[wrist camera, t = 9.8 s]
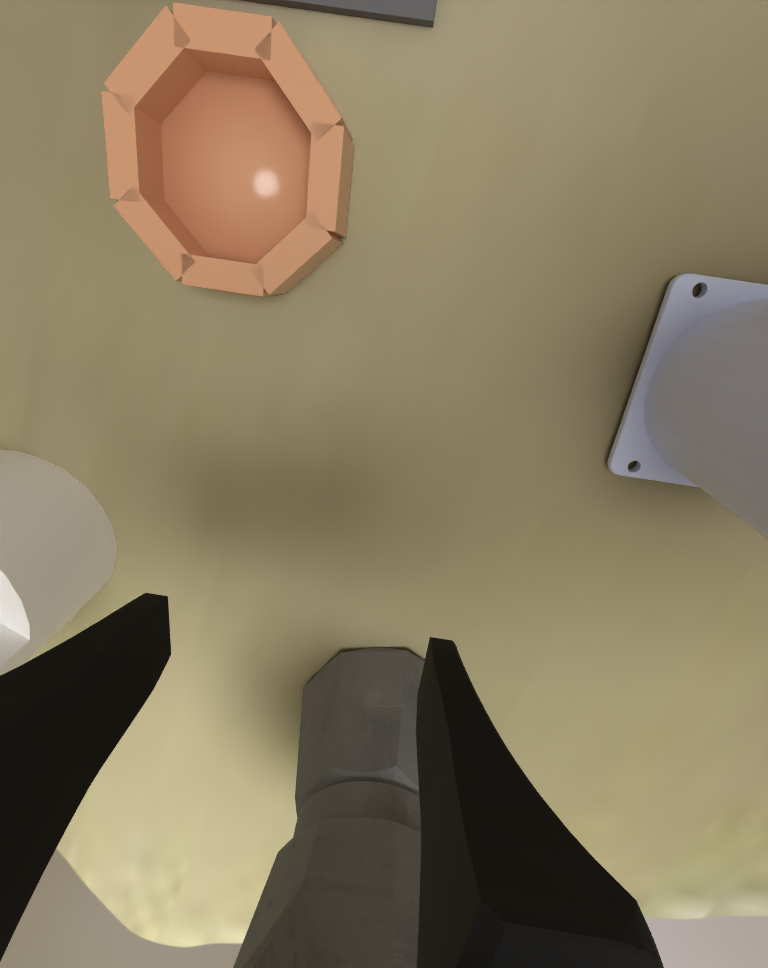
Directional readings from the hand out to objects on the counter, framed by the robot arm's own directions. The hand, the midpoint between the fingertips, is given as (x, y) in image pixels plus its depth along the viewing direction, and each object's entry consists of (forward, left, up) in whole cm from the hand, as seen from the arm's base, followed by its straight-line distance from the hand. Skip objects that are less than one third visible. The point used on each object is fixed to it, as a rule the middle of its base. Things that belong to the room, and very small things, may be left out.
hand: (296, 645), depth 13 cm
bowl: (+5, -12, -10) cm, 17 cm away
